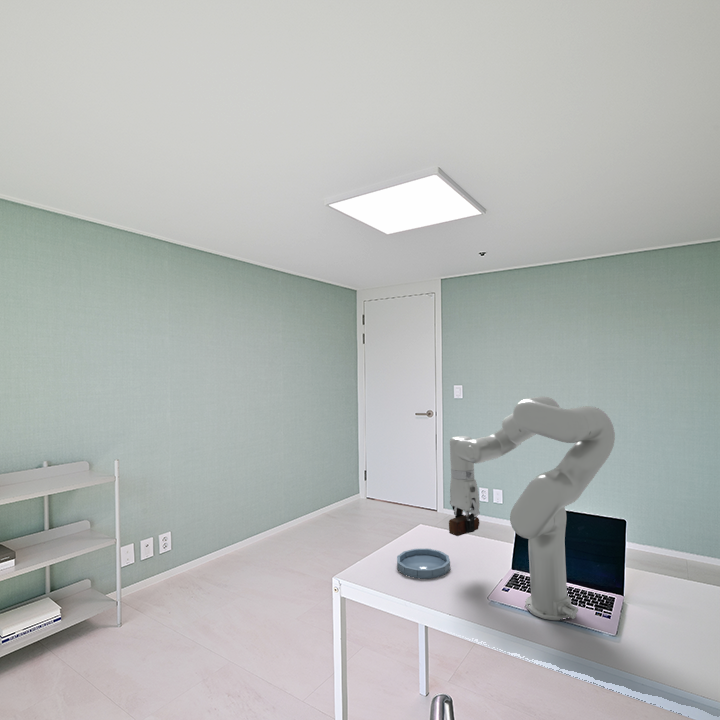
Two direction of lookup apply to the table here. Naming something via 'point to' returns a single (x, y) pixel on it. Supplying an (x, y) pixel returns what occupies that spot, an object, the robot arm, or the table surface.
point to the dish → (423, 563)
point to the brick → (460, 525)
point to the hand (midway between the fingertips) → (465, 529)
